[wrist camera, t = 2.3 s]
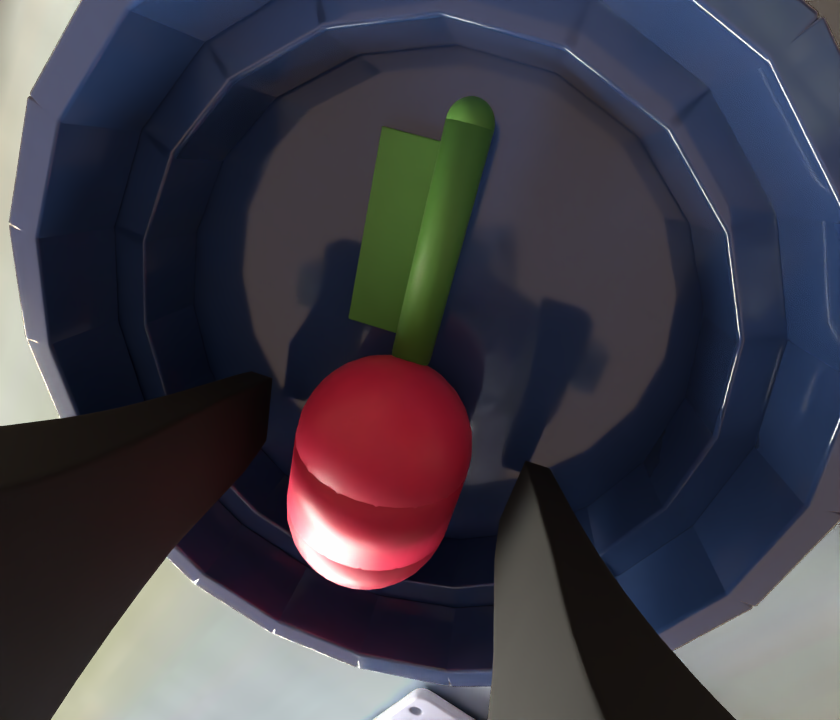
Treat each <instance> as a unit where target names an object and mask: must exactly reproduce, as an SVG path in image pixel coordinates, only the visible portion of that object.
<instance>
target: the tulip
mask: <svg viewBox="0 0 840 720" xmlns="http://www.w3.org/2000/svg"><path fill="white" fill-rule="evenodd" d="M494 128H495V117H494V113H493V111H492V109H491V107H490V105H489V104H488V103H487V102H486V101H485V100H483V99H482V98H479V97H476V96H467V97H463V98H461V99H459V100H458V101H456V102H455V103H454V104H453V105H452V106H451V108H450V109H449V111H448V113H447V116H446V119H445V124H444V128H443V132H442V137H441V141H438V140H435V139H431V138H427V137H423V136H419V135H416V134H412V133H408V132H404V131H400V130H397V129H393V128H389V127H385V126H382V130H381V135H380V141H379V147H378V152H377V158H376V164H375V169H374V175H373V181H372V187H371V192H370V198H369V204H368V209H367V215H366V221H365V226H364V232H363V238H362V244H361V249H360V255H359V261H358V266H357V272H356V278H355V284H354V289H353V295H352V301H351V306H350V312H349V319H351V320H355V321H358V322H361V323H365V324H368V325H371V326H374V327H378V328H381V329H384V330H387V331H391V332H394V333H396V336H395V340H394V344H393V349H392V355H372V356H367V357H363V358H360V359H357V360H354V361H351V362H348V363H346V364H344V365H342V366H341V367H339V368H338V369H336V370H335V371H333V372H332V373H330V374H329V375H328V376H327V377H326V378H324V379H323V380H322V382H321V383H320V384H319V385H318V386H317V387H316V388H315V389H314V391H313V392H312V394H311V395H310V397H309V398H308V400H307V402H306V404H305V406H304V407H303V409H302V412H301V416H300V419H299V423H298V426H297V430H296V434H295V441H294V449H293V456H292V464H291V471H290V478H289V486H288V493H287V519H288V523H289V527H290V531H291V534H292V537H293V540H294V543H295V545H296V547H297V548H298V550H299V552H300V554H301V555H302V556H303V558H304V559H305V560H306V561H307V562H308V563H309V564H310V566H311V567H312V568H313V569H314V570H315V571H316V572H318V573H319V574H320V575H322V576H323V577H324V578H326V579H327V580H330V581H332V582H334V583H336V584H338V585H341V586H345V587H349V588H352V589H363V590H371V589H380V588H384V587H387V586H391V585H394V584H396V583H399V582H401V581H403V580H405V579H406V578H408V577H410V576H412V575H414V574H415V573H416V572H417V571H418V570H419V569H420V568H421V567H423V566H424V565H425V564H426V563H427V562H428V561H429V560H430V559H431V558H432V556H433V555H434V553H435V552H436V550H437V549H438V547H439V545H440V543H441V541H442V540H443V538H444V535H445V533H446V531H447V528H448V525H449V523H450V520H451V517H452V514H453V512H454V509H455V506H456V503H457V501H458V498H459V495H460V493H461V490H462V487H463V484H464V482H465V479H466V476H467V473H468V469H469V465H470V461H471V456H472V430H471V426H470V422H469V418H468V414H467V411H466V408H465V406H464V404H463V403H462V401H461V399H460V397H459V395H458V394H457V392H456V390H455V389H454V388H453V387H452V386H451V385H450V384H449V383H448V382H447V381H446V379H445V378H444V377H443V376H442V375H441V374H439V373H438V372H437V371H435V370H434V369H432V368H430V367H429V366H427V365H428V364H429V362H430V360H431V356H432V353H433V349H434V345H435V342H436V338H437V335H438V331H439V327H440V324H441V320H442V317H443V313H444V309H445V306H446V302H447V299H448V295H449V291H450V288H451V284H452V281H453V277H454V273H455V270H456V266H457V263H458V259H459V255H460V252H461V248H462V245H463V241H464V237H465V234H466V230H467V226H468V223H469V219H470V216H471V212H472V208H473V205H474V201H475V198H476V194H477V190H478V187H479V183H480V180H481V176H482V172H483V169H484V165H485V162H486V158H487V154H488V151H489V147H490V144H491V140H492V136H493V133H494Z"/></svg>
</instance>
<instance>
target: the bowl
mask: <svg viewBox="0 0 840 720" xmlns="http://www.w3.org/2000/svg"><path fill="white" fill-rule="evenodd" d="M818 16H819V13H818V11H817V10H816V9H814V8H813V7H812V6H811V5H810V4H808V3H807V2H806V1H805V0H81V1H80V3H79V5H78V7H77V8H76V10H75V12H74V14H73V16H72V17H71V19H70V21H69V23H68V25H67V26H66V28H65V30H64V32H63V34H62V36H61V37H60V39H59V41H58V43H57V45H56V46H55V48H54V50H53V52H52V54H51V56H50V57H49V59H48V61H47V63H46V65H45V66H44V68H43V70H42V72H41V74H40V75H39V77H38V79H37V81H36V83H35V85H34V86H33V88H32V90H31V92H30V95H31V96H29V97H28V99H27V106H26V112H25V119H24V126H23V132H22V139H21V146H20V152H19V159H18V166H17V172H16V179H15V185H14V192H13V199H12V205H11V212H10V219H9V223H10V224H11V225H9V229H10V236H11V242H12V249H13V256H14V263H15V269H16V276H17V283H18V289H19V296H20V303H21V310H22V316H23V323H24V330H25V337H26V338H27V339H28V344H29V346H30V349H31V351H32V353H33V356H34V358H35V361H36V363H37V365H38V368H39V370H40V372H41V375H42V377H43V380H44V382H45V384H46V387H47V389H48V392H49V394H50V396H51V399H52V401H53V403H54V406H55V408H56V411H57V413H58V415H59V418H67V417H73V416H78V415H84V414H89V413H94V412H100V411H105V410H109V409H114V408H119V407H123V406H127V405H131V404H135V403H139V402H143V401H147V400H151V399H154V398H158V397H162V396H166V395H170V394H173V393H177V392H180V391H184V390H187V389H190V388H194V387H197V386H200V385H204V384H207V383H210V382H214V381H217V380H220V379H224V378H227V377H230V376H234V375H238V374H241V373H246V372H250V371H252V372H255V373H258V374H261V375H264V376H267V377H271V378H273V379H272V389H271V399H270V409H269V419H268V429H267V439H266V442H265V443H264V445H263V446H262V448H261V449H260V451H259V452H258V453H257V455H256V456H255V458H254V459H253V461H252V462H251V463H250V465H249V466H248V467H247V469H246V470H245V471H244V472H243V474H242V475H241V476H240V477H239V478H238V479H237V480H236V481H235V482H234V483H233V485H232V486H231V487H230V488H229V489H228V490H227V491H226V492H225V493H224V494H223V495H222V496H221V497H220V499H219V500H218V501H217V502H216V503H215V504H214V505H213V506H212V507H211V508H210V509H209V510H208V511H207V512H206V513H205V515H204V516H203V517H202V518H201V519H200V520H199V521H198V522H197V523H196V524H195V525H194V526H193V527H192V528H191V529H190V531H189V532H188V533H187V534H186V535H185V536H184V537H183V538H182V539H181V540H180V542H179V543H178V544H177V545H176V546H175V547H174V549H173V550H172V551H171V552H170V553H169V554H168V556H167V558H168V559H169V560H170V561H171V562H172V563H173V564H174V565H175V566H176V567H177V568H178V569H179V570H181V571H182V572H183V573H184V574H185V575H186V576H187V577H188V578H189V579H190V580H191V581H192V582H195V584H196V585H197V586H198V587H200V588H201V589H203V590H205V591H206V592H208V593H209V594H211V595H212V596H214V597H216V598H217V599H219V600H220V601H222V602H223V603H225V604H226V605H228V606H230V607H231V608H233V609H234V610H236V611H237V612H239V613H241V614H242V615H244V616H245V617H247V618H248V619H250V620H251V621H253V622H255V623H256V624H258V625H259V626H261V627H262V628H264V629H266V630H267V631H269V632H270V633H274V634H275V635H277V636H280V637H282V638H285V639H287V640H290V641H292V642H295V643H297V644H300V645H302V646H305V647H307V648H309V649H312V650H314V651H317V652H319V653H322V654H324V655H327V656H329V657H332V658H334V659H337V660H339V661H341V662H344V663H346V664H349V665H351V666H354V667H359V668H360V669H365V670H370V671H375V672H380V673H385V674H390V675H395V676H400V677H405V678H410V679H415V680H420V681H425V682H430V683H435V684H440V685H445V686H450V685H451V686H453V687H481V686H491V682H492V671H493V651H494V560H495V550H496V542H497V535H498V528H499V521H500V518H501V515H502V513H503V511H504V509H505V506H506V504H507V502H508V499H509V497H510V495H511V493H512V490H513V488H514V486H515V483H516V481H517V479H518V477H519V474H520V472H521V470H522V467H523V465H524V463H525V460H526V461H529V462H532V463H535V464H538V465H541V466H544V467H547V468H550V470H551V472H552V473H553V475H554V477H555V479H556V481H557V483H558V484H559V486H560V488H561V490H562V492H563V494H564V496H565V497H566V499H567V501H568V503H569V505H570V507H571V508H572V510H573V512H574V514H575V515H576V517H577V519H578V521H579V522H580V524H581V526H582V528H583V529H584V531H585V533H586V534H587V536H588V538H589V539H590V541H591V542H592V544H593V546H594V547H595V549H596V550H597V552H598V554H599V555H600V557H601V558H602V560H603V561H604V563H605V564H606V566H607V567H608V569H609V570H610V572H611V573H612V575H613V576H614V578H615V579H616V580H617V582H618V583H619V585H620V586H621V587H622V589H623V590H624V592H625V593H626V594H627V595H628V597H629V598H630V599H631V601H632V602H633V603H634V605H635V606H636V607H637V608H638V610H639V611H640V612H641V614H642V615H643V616H644V618H645V619H646V620H647V621H648V623H649V624H650V625H651V626H652V628H653V629H654V630H655V631H656V632H657V634H658V635H659V636H660V637H661V639H662V640H663V641H664V642H665V643H666V644H667V645H668V647H669V648H670V649H671V650H672V651H674V650H676V649H678V648H680V647H681V646H683V645H685V644H687V643H689V642H691V641H693V640H695V639H696V638H698V637H700V636H702V635H704V634H706V633H708V632H710V631H711V630H713V629H715V628H717V627H719V626H721V625H723V624H725V623H726V622H728V621H730V620H732V619H734V618H736V617H738V616H740V615H741V614H743V613H745V612H747V611H749V610H751V609H752V608H753V606H757V605H758V604H759V603H760V602H761V601H762V600H763V599H764V598H765V597H766V596H767V595H768V594H769V593H770V592H771V591H772V590H773V589H774V588H775V587H776V586H777V585H778V584H779V583H780V582H781V581H782V580H783V579H784V578H785V576H786V575H787V574H788V573H789V572H790V571H791V570H792V569H793V568H794V567H795V566H796V565H797V564H798V563H799V562H800V561H801V560H802V559H803V558H804V557H805V556H806V555H807V554H808V553H809V552H810V551H811V550H812V549H813V548H814V547H815V546H816V545H817V544H818V543H819V542H820V541H821V540H822V539H823V538H824V537H825V536H826V535H827V534H828V533H829V532H830V531H831V530H832V529H833V528H834V527H835V526H836V524H837V523H838V522H839V521H840V49H839V47H838V45H837V43H836V40H835V38H834V36H833V34H832V32H831V29H830V27H829V25H828V23H827V21H826V19H825V18H824V17H823V16H822V17H819V18H818ZM467 96H476V97H479V98H482V99H483V100H485V101H486V102H487V103H488V104H489V105H490V107H491V109H492V111H493V113H494V117H495V128H494V133H493V136H492V140H491V144H490V147H489V151H488V154H487V158H486V162H485V165H484V169H483V172H482V176H481V180H480V183H479V187H478V190H477V194H476V198H475V201H474V205H473V208H472V212H471V216H470V219H469V223H468V226H467V230H466V234H465V237H464V241H463V245H462V248H461V252H460V255H459V259H458V263H457V266H456V270H455V273H454V277H453V281H452V284H451V288H450V291H449V295H448V299H447V302H446V306H445V309H444V313H443V317H442V320H441V324H440V327H439V331H438V335H437V338H436V342H435V345H434V349H433V353H432V356H431V360H430V362H429V364H428V365H427V366H429V367H430V368H432V369H434V370H435V371H437V372H438V373H439V374H441V375H442V376H443V377H444V378H445V379H446V381H447V382H448V383H449V384H450V385H451V386H452V387H453V388H454V389H455V390H456V392H457V394H458V395H459V397H460V399H461V401H462V403H463V404H464V406H465V408H466V411H467V414H468V418H469V422H470V426H471V430H472V456H471V461H470V465H469V469H468V473H467V476H466V479H465V482H464V484H463V487H462V490H461V493H460V495H459V498H458V501H457V503H456V506H455V509H454V512H453V514H452V517H451V520H450V523H449V525H448V528H447V531H446V533H445V535H444V538H443V540H442V541H441V543H440V545H439V547H438V549H437V550H436V552H435V553H434V555H433V556H432V558H431V559H430V560H429V561H428V562H427V563H426V564H425V565H424V566H423V567H421V568H420V569H419V570H418V571H417V572H416V573H415V574H414V575H412V576H410V577H408V578H406V579H405V580H403V581H401V582H399V583H396V584H394V585H391V586H387V587H384V588H380V589H371V590H363V589H352V588H349V587H345V586H341V585H338V584H336V583H334V582H332V581H330V580H327V579H326V578H324V577H323V576H322V575H320V574H319V573H318V572H316V571H315V570H314V569H313V568H312V567H311V566H310V564H309V563H308V562H307V561H306V560H305V559H304V558H303V556H302V555H301V554H300V552H299V550H298V548H297V547H296V545H295V543H294V540H293V537H292V534H291V531H290V527H289V523H288V519H287V493H288V486H289V478H290V471H291V464H292V456H293V449H294V441H295V434H296V430H297V426H298V423H299V419H300V416H301V412H302V409H303V407H304V406H305V404H306V402H307V400H308V398H309V397H310V395H311V394H312V392H313V391H314V389H315V388H316V387H317V386H318V385H319V384H320V383H321V382H322V380H323V379H324V378H326V377H327V376H328V375H329V374H330V373H332V372H333V371H335V370H336V369H338V368H339V367H341V366H342V365H344V364H346V363H348V362H351V361H354V360H357V359H360V358H363V357H367V356H372V355H392V349H393V344H394V340H395V336H396V333H394V332H391V331H387V330H384V329H381V328H378V327H374V326H371V325H368V324H365V323H361V322H358V321H355V320H351V319H349V312H350V306H351V301H352V295H353V289H354V284H355V278H356V272H357V266H358V261H359V255H360V249H361V244H362V238H363V232H364V226H365V221H366V215H367V209H368V204H369V198H370V192H371V187H372V181H373V175H374V169H375V164H376V158H377V152H378V147H379V141H380V135H381V130H382V126H385V127H389V128H393V129H397V130H400V131H404V132H408V133H412V134H416V135H419V136H423V137H427V138H431V139H435V140H438V141H441V137H442V132H443V128H444V124H445V119H446V116H447V113H448V111H449V109H450V108H451V106H452V105H453V104H454V103H455V102H456V101H458V100H459V99H461V98H463V97H467Z"/></svg>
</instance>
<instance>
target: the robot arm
mask: <svg viewBox="0 0 840 720" xmlns="http://www.w3.org/2000/svg"><path fill="white" fill-rule="evenodd" d="M272 379H273V378H271V377H267V376H264V375H261V374H258V373H255V372H252V371H250V372H246V373H241V374H238V375H234V376H230V377H227V378H224V379H220V380H217V381H214V382H210V383H207V384H204V385H200V386H197V387H194V388H190V389H187V390H184V391H180V392H177V393H173V394H170V395H166V396H162V397H158V398H154V399H151V400H147V401H143V402H139V403H135V404H131V405H127V406H123V407H119V408H114V409H109V410H105V411H100V412H94V413H89V414H84V415H78V416H73V417H67V418H60V419H53V420H45V421H37V422H30V423H22V424H15V425H7V426H0V720H51V718H52V717H53V715H54V714H55V712H56V711H57V709H58V708H59V706H60V705H61V703H62V702H63V700H64V699H65V697H66V696H67V694H68V693H69V691H70V689H71V688H72V686H73V685H74V683H75V682H76V680H77V679H78V678H79V676H80V675H81V673H82V672H83V670H84V669H85V668H86V666H87V665H88V663H89V662H90V660H91V659H92V658H93V656H94V655H95V653H96V652H97V650H98V649H99V647H100V646H101V645H102V643H103V642H104V640H105V639H106V637H107V636H108V635H109V633H110V632H111V630H112V629H113V628H114V626H115V625H116V623H117V622H118V621H119V619H120V618H121V617H122V615H123V614H124V613H125V611H126V610H127V609H128V607H129V606H130V604H131V603H132V602H133V600H134V599H135V598H136V596H137V595H138V594H139V592H140V591H141V589H142V588H143V587H144V586H145V584H146V583H147V582H148V580H149V579H150V578H151V576H152V575H153V574H154V573H155V571H156V570H157V569H158V567H159V566H160V565H161V564H162V562H163V561H164V560H165V558H166V557H167V556H168V554H169V553H170V552H171V551H172V550H173V549H174V547H175V546H176V545H177V544H178V543H179V542H180V540H181V539H182V538H183V537H184V536H185V535H186V534H187V533H188V532H189V531H190V529H191V528H192V527H193V526H194V525H195V524H196V523H197V522H198V521H199V520H200V519H201V518H202V517H203V516H204V515H205V513H206V512H207V511H208V510H209V509H210V508H211V507H212V506H213V505H214V504H215V503H216V502H217V501H218V500H219V499H220V497H221V496H222V495H223V494H224V493H225V492H226V491H227V490H228V489H229V488H230V487H231V486H232V485H233V483H234V482H235V481H236V480H237V479H238V478H239V477H240V476H241V475H242V474H243V472H244V471H245V470H246V469H247V467H248V466H249V465H250V463H251V462H252V461H253V459H254V458H255V456H256V455H257V453H258V452H259V451H260V449H261V448H262V446H263V445H264V443H265V442H266V439H267V429H268V419H269V409H270V399H271V389H272ZM373 720H475V719H474V718H472V717H470V716H469V715H467V714H466V713H464V712H463V711H461V710H460V709H458V708H457V707H455V706H454V705H452V704H450V703H449V702H447V701H446V700H444V699H443V698H441V697H440V696H438V695H437V694H435V693H433V692H432V691H430V690H428V689H425V688H417V689H415V690H413V691H412V692H411V693H409V694H408V695H406V696H405V697H404V698H402V699H401V700H400V701H398V702H397V703H395V704H394V705H393V706H391V707H390V708H388V709H387V710H386V711H384V712H383V713H381V714H380V715H379V716H377V717H376V718H374V719H373ZM488 720H736V719H735V718H734V717H733V716H732V715H731V714H730V713H729V712H728V711H727V710H726V709H725V708H724V707H723V706H722V705H721V704H720V703H719V702H718V701H717V700H716V699H715V698H714V697H713V695H712V694H711V693H710V692H709V691H708V690H707V689H706V688H705V687H704V686H703V685H702V684H701V683H700V682H699V680H698V679H697V678H696V677H695V676H694V675H693V674H692V673H691V672H690V671H689V670H688V668H687V667H686V666H685V665H684V664H683V663H682V661H681V660H680V659H679V658H678V657H677V656H676V655H675V653H674V652H673V651H672V650H671V649H670V648H669V647H668V645H667V644H666V643H665V642H664V641H663V640H662V639H661V637H660V636H659V635H658V634H657V632H656V631H655V630H654V629H653V628H652V626H651V625H650V624H649V623H648V621H647V620H646V619H645V618H644V616H643V615H642V614H641V612H640V611H639V610H638V608H637V607H636V606H635V605H634V603H633V602H632V601H631V599H630V598H629V597H628V595H627V594H626V593H625V592H624V590H623V589H622V587H621V586H620V585H619V583H618V582H617V580H616V579H615V578H614V576H613V575H612V573H611V572H610V570H609V569H608V567H607V566H606V564H605V563H604V561H603V560H602V558H601V557H600V555H599V554H598V552H597V550H596V549H595V547H594V546H593V544H592V542H591V541H590V539H589V538H588V536H587V534H586V533H585V531H584V529H583V528H582V526H581V524H580V522H579V521H578V519H577V517H576V515H575V514H574V512H573V510H572V508H571V507H570V505H569V503H568V501H567V499H566V497H565V496H564V494H563V492H562V490H561V488H560V486H559V484H558V483H557V481H556V479H555V477H554V475H553V473H552V472H551V470H550V468H547V467H544V466H541V465H538V464H535V463H532V462H529V461H526V460H525V463H524V465H523V467H522V470H521V472H520V474H519V477H518V479H517V481H516V483H515V486H514V488H513V490H512V493H511V495H510V497H509V499H508V502H507V504H506V506H505V509H504V511H503V513H502V515H501V518H500V521H499V528H498V535H497V542H496V550H495V560H494V651H493V671H492V682H491V692H490V702H489V712H488Z"/></svg>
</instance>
